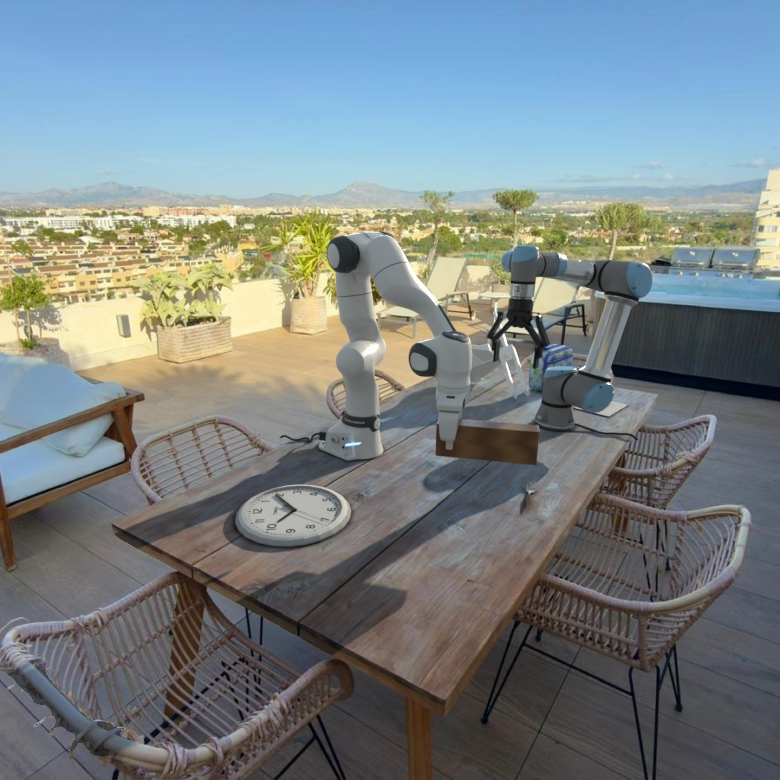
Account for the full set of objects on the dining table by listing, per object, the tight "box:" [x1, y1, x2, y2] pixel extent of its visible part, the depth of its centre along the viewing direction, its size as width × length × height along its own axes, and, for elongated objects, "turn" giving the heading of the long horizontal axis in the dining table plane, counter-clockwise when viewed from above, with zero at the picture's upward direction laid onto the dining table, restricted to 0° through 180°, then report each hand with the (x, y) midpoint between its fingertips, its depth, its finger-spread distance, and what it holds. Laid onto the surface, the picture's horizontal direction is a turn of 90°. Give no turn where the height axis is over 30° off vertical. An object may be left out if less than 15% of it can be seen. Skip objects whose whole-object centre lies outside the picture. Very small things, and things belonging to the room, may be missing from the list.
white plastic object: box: [470, 310, 531, 400], centre depth 245 cm, size 37×45×31 cm
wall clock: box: [234, 484, 352, 548], centre depth 138 cm, size 30×2×30 cm
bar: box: [435, 418, 540, 466], centre depth 137 cm, size 26×5×9 cm, turn 77°
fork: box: [525, 478, 537, 511], centre depth 148 cm, size 3×16×2 cm, turn 160°
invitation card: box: [573, 400, 629, 418], centre depth 226 cm, size 21×1×15 cm
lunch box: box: [528, 343, 574, 392], centre depth 248 cm, size 26×11×21 cm, turn 134°
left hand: (450, 444), depth 139 cm, fingers closed on bar, 5 cm apart
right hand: (515, 364), depth 167 cm, fingers open, 13 cm apart
